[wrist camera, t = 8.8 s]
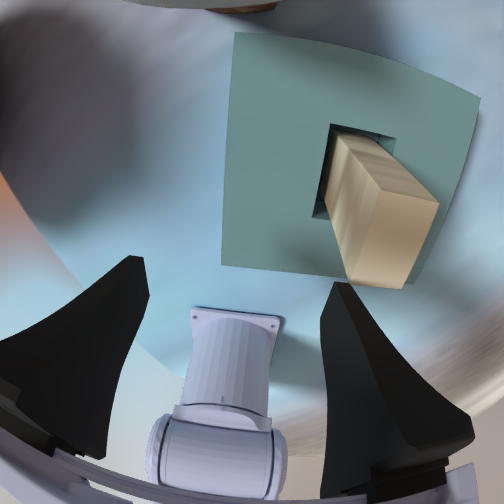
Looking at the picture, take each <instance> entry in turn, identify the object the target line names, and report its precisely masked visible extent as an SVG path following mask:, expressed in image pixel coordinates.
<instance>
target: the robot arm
mask: <svg viewBox="0 0 504 504" xmlns="http://www.w3.org/2000/svg"><path fill="white" fill-rule="evenodd" d="M149 297H150V294H149V289H148V283H147V277H146V271H145V265H144V258H143V257H139V256H132V255H129V256H127V257H126V258H125V259H123V260H122V261H121V262H120V263H118V264H117V265H116V266H115V267H114V268H112V269H111V270H110V271H109V272H107V273H106V274H105V275H104V276H103V277H101V278H100V279H99V280H98V281H96V282H95V283H94V284H93V285H92V286H90V287H89V288H88V289H86V290H85V291H84V292H82V293H81V294H80V295H78V296H77V297H76V298H75V299H73V300H72V301H71V302H69V303H68V304H66V305H65V306H64V307H62V308H61V309H59V310H58V311H56V312H55V313H53V314H51V315H50V316H48V317H47V318H45V319H43V320H42V321H40V322H38V323H36V324H34V325H33V326H31V327H29V328H27V329H25V330H23V331H21V332H19V333H17V334H15V335H13V336H10V337H8V338H6V339H4V340H1V341H0V487H1V488H2V489H4V490H5V491H6V492H7V493H8V494H9V495H10V496H11V497H13V498H14V499H15V500H16V501H17V502H19V503H20V504H133V502H131V501H128V500H126V499H123V498H120V497H117V496H114V495H111V494H108V493H106V492H103V491H100V490H97V489H95V488H92V487H91V486H90V484H89V482H88V480H87V479H89V480H91V481H93V482H96V483H98V484H101V485H104V486H106V487H109V488H112V489H115V490H117V491H120V492H123V493H126V494H129V495H133V496H136V497H139V498H143V499H146V500H150V501H151V502H152V503H153V504H479V498H478V489H477V481H476V474H475V469H474V463H473V462H471V463H469V464H466V465H464V466H461V467H458V468H456V469H453V470H450V471H448V472H445V466H447V465H448V464H449V459H448V456H450V455H452V454H454V453H455V452H457V451H459V450H461V449H463V448H464V447H466V446H467V445H469V444H470V443H472V442H473V440H474V439H475V433H474V429H473V426H472V421H471V417H470V416H469V415H468V414H466V413H465V412H464V411H462V410H461V409H459V408H458V407H457V406H455V405H454V404H452V403H451V402H450V401H448V400H447V399H446V398H445V397H443V396H442V395H441V394H440V393H439V392H437V391H436V390H435V389H434V388H433V387H432V386H431V385H430V384H428V383H427V382H426V381H425V380H424V379H423V378H422V377H421V376H420V375H419V374H418V373H417V372H416V371H415V370H414V369H413V368H412V367H411V365H410V364H409V363H408V362H407V361H406V360H405V359H404V358H403V356H402V355H401V354H400V353H399V352H398V351H397V349H396V348H395V347H394V346H393V344H392V343H391V342H390V340H389V339H388V338H387V337H386V335H385V334H384V333H383V331H382V330H381V329H380V327H379V326H378V324H377V323H376V322H375V320H374V319H373V317H372V316H371V314H370V313H369V311H368V310H367V308H366V307H365V305H364V304H363V303H362V301H361V300H360V298H359V297H358V295H357V294H356V292H355V291H354V289H353V288H352V286H351V285H350V283H343V282H334V284H333V286H332V289H331V292H330V294H329V297H328V299H327V302H326V304H325V307H324V309H323V312H322V314H321V317H320V342H321V349H322V357H323V364H324V372H325V380H326V388H327V438H326V451H325V461H324V469H323V476H322V483H321V488H320V499H314V500H278V497H279V494H280V493H281V491H282V489H283V486H284V483H285V479H286V473H287V462H288V451H287V442H286V439H285V437H284V436H283V435H282V434H281V432H280V431H279V430H278V429H271V425H272V418H268V417H267V411H268V391H269V368H270V361H271V357H272V353H273V349H274V345H275V341H276V337H277V334H278V330H279V325H280V319H279V318H278V317H276V316H266V315H256V314H247V313H238V312H229V311H221V310H213V309H206V308H198V307H193V308H191V310H190V319H191V328H192V337H193V349H192V353H191V358H190V362H189V366H188V370H187V374H186V379H185V383H184V387H183V392H182V396H181V401H180V405H174V409H173V414H172V415H171V414H164V415H163V416H162V417H161V418H159V419H157V421H156V422H155V423H154V425H153V428H152V430H151V433H150V436H149V440H148V444H147V450H146V472H147V475H148V482H145V481H142V480H138V479H135V478H132V477H128V476H125V475H122V474H119V473H116V472H113V471H110V470H108V469H105V468H102V467H99V466H97V465H94V464H92V463H89V462H87V461H85V460H82V459H80V458H78V457H75V454H78V455H81V456H83V457H84V456H85V455H87V456H89V457H92V458H94V459H97V460H101V459H103V458H104V457H106V447H107V437H108V429H109V423H110V416H111V410H112V406H113V401H114V396H115V392H116V388H117V384H118V380H119V377H120V373H121V370H122V367H123V364H124V362H125V359H126V357H127V354H128V352H129V350H130V347H131V345H132V342H133V340H134V338H135V336H136V333H137V331H138V329H139V326H140V324H141V322H142V319H143V317H144V313H145V310H146V307H147V303H148V300H149Z"/></svg>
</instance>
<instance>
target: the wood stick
mask: <svg viewBox="0 0 504 504" xmlns="http://www.w3.org/2000/svg"><path fill="white" fill-rule="evenodd" d="M320 189H321V192H322V195H323V198H324V201H325V204H326V207H327V210H328V213H329V216H330V219H331V223H332V226H333V229H334V232H335V236H336V239H337V243H338V246H339V249H340V253H341V256H342V260H343V264H344V267H345V271H346V275H347V278H348V282H349V283H350V285H359V286H370V287H382V288H394V289H402V287H403V285H404V283H405V281H406V279H407V277H408V275H409V273H410V271H411V269H412V267H413V265H414V262H415V260H416V258H417V256H418V254H419V252H420V250H421V247H422V245H423V243H424V241H425V238H426V236H427V234H428V231H429V229H430V226H431V224H432V222H433V219H434V217H435V214H436V211H437V209H438V206H439V204H440V203H439V202H438V201H437V200H436V199H435V198H434V197H433V196H432V195H431V194H430V193H429V192H428V191H427V190H426V188H425V187H424V186H423V185H422V184H421V183H420V182H419V181H418V180H417V179H416V178H414V177H413V176H412V175H411V174H410V173H409V172H408V171H407V170H406V169H405V168H404V167H403V166H402V165H401V164H400V163H399V162H398V161H396V160H395V159H394V158H393V157H392V156H391V155H390V154H389V153H388V152H386V151H385V150H384V149H383V148H382V147H381V146H379V145H378V144H377V143H376V142H375V141H374V140H372V139H371V138H370V137H368V136H364V135H359V134H355V133H350V132H345V131H340V130H335V129H332V131H331V136H330V142H329V147H328V153H327V158H326V163H325V168H324V173H323V178H322V183H321V188H320Z"/></svg>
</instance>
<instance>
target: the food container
mask: <svg viewBox="0 0 504 504" xmlns="http://www.w3.org/2000/svg"><path fill="white" fill-rule="evenodd" d="M124 1H128V2H133V3H137V4H141V5H147V6H156V7H164V8H186V9H206V10H210V11H215V12H220V13H230V14H248V13H257V12H263V11H268V10H273V9H275V8H276V5H277V3H278V1H282V0H124Z"/></svg>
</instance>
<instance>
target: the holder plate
mask: <svg viewBox="0 0 504 504" xmlns="http://www.w3.org/2000/svg"><path fill="white" fill-rule="evenodd" d="M480 99H481V98H479V97H478V96H476V95H474V94H472V93H470V92H468V91H466V90H464V89H462V88H460V87H458V86H456V85H454V84H452V83H450V82H447V81H445V80H443V79H441V78H438V77H436V76H434V75H431V74H429V73H426V72H424V71H421V70H419V69H416V68H414V67H411V66H408V65H405V64H403V63H400V62H397V61H394V60H391V59H388V58H384V57H381V56H378V55H375V54H371V53H367V52H364V51H360V50H356V49H352V48H348V47H344V46H339V45H335V44H330V43H325V42H320V41H314V40H309V39H302V38H296V37H288V36H280V35H271V34H259V33H244V32H235V35H234V46H233V57H232V69H231V82H230V95H229V109H228V124H227V140H226V157H225V177H224V198H223V223H222V254H221V265H226V266H235V267H244V268H253V269H262V270H271V271H280V272H290V273H299V274H309V275H319V276H329V277H339V278H347V275H346V271H345V267H344V264H343V260H342V256H341V253H340V249H339V246H338V243H337V239H336V236H335V232H334V229H333V226H332V223H331V219H330V216H329V213H328V210H327V207H326V204H325V201H318V200H316V195H317V190H318V185H319V180H320V175H321V170H322V165H323V160H324V154H325V149H326V144H327V138H328V132H329V127H330V123H332V124H337V125H342V126H347V127H352V128H356V129H361V130H365V131H370V132H374V133H378V134H380V138H379V143H378V145H379V146H381V147H382V148H383V149H384V150H385V151H386V152H388V153H389V154H390V155H391V156H392V157H393V158H394V159H395V160H396V161H398V162H399V163H400V164H401V165H402V166H403V167H404V168H405V169H406V170H407V171H408V172H409V173H410V174H411V175H412V176H413V177H414V178H416V179H417V180H418V181H419V182H420V183H421V184H422V185H423V186H424V187H425V188H426V190H427V191H428V192H429V193H430V194H431V195H432V196H433V197H434V198H435V199H436V200H437V201H438V202H439V203H440V204H439V206H438V209H437V211H436V214H435V217H434V219H433V222H432V224H431V226H430V229H429V231H428V234H427V236H426V238H425V241H424V243H423V245H422V247H421V250H420V252H419V254H418V256H417V258H416V260H415V262H414V265H413V267H412V269H411V271H410V273H409V275H408V277H407V279H406V281H405V283H404V284H414V283H415V281H416V279H417V277H418V275H419V273H420V271H421V269H422V267H423V265H424V263H425V261H426V259H427V257H428V255H429V253H430V251H431V248H432V246H433V244H434V242H435V240H436V237H437V235H438V233H439V231H440V228H441V226H442V223H443V221H444V219H445V216H446V214H447V211H448V209H449V206H450V203H451V201H452V198H453V195H454V193H455V190H456V187H457V184H458V181H459V178H460V175H461V172H462V169H463V166H464V163H465V160H466V156H467V153H468V150H469V146H470V142H471V139H472V135H473V131H474V127H475V123H476V118H477V114H478V109H479V104H480Z"/></svg>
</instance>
